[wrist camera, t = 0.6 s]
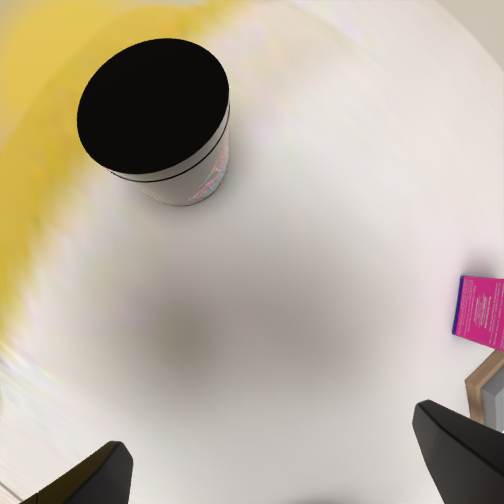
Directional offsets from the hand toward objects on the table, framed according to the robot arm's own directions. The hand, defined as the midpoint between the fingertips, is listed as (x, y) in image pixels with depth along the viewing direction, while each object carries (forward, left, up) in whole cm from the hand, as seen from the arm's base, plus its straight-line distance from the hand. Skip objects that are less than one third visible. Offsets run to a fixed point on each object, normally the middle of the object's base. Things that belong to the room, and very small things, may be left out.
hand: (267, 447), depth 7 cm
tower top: (-23, -21, -13) cm, 33 cm away
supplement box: (-11, -20, -15) cm, 27 cm away
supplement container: (+12, -2, -15) cm, 19 cm away
